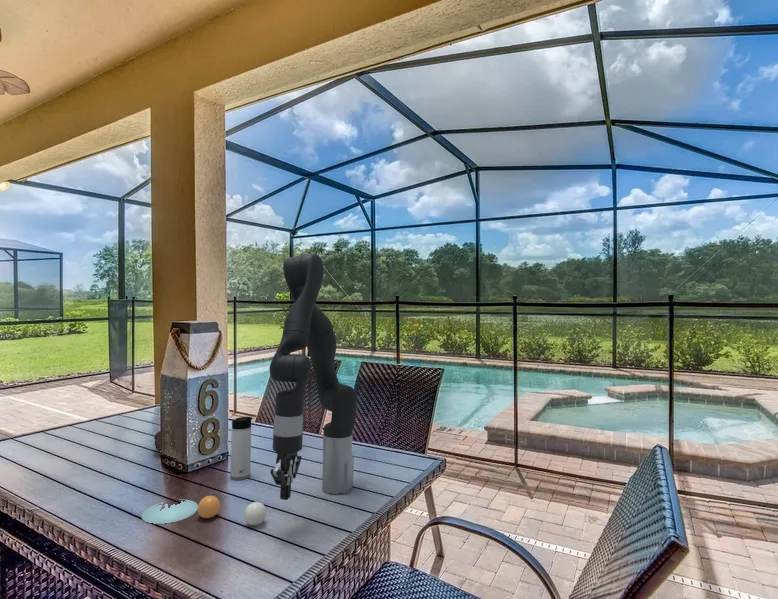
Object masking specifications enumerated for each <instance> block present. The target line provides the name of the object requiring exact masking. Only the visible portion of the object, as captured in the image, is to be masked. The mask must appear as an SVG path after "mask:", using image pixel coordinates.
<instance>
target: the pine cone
mask: <svg viewBox="0 0 778 599" xmlns="http://www.w3.org/2000/svg"><path fill="white" fill-rule="evenodd" d="M161 431H162V430H160V431H158V432H156V433H155V435H154V436H153V439H154V447H155V449H156V451H157V452H158V453H160V451H161ZM160 454H161V453H160Z"/></svg>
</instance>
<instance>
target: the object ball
mask: <svg viewBox="0 0 778 599" xmlns="http://www.w3.org/2000/svg"><path fill="white" fill-rule="evenodd" d="M197 505H198V510H197V512H198V514H199V516H200V517H202V518H203V519H211V518H214V517H215V516H216V515H217V514H218V513H219V511H220V508H221V507H220V506H221V503H220V500H219V499H218V497H217V496H214V495H206V496H204V497H203V498H201V500H200V501H199V503H197Z"/></svg>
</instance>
